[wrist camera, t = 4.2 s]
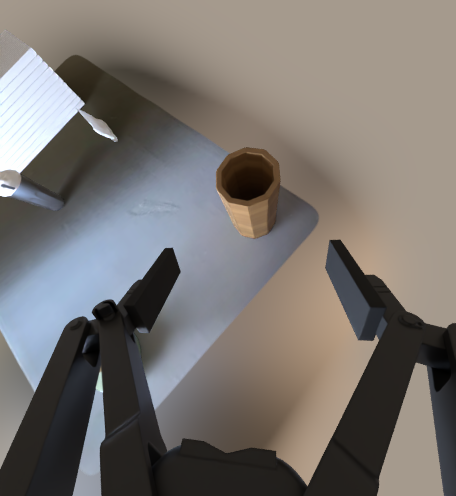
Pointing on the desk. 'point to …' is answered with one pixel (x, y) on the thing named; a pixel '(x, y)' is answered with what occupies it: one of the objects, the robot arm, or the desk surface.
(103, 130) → the white tapered spindle
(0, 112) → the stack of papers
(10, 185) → the milkshake
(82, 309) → the desk surface
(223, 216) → the desk surface
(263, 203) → the tube
